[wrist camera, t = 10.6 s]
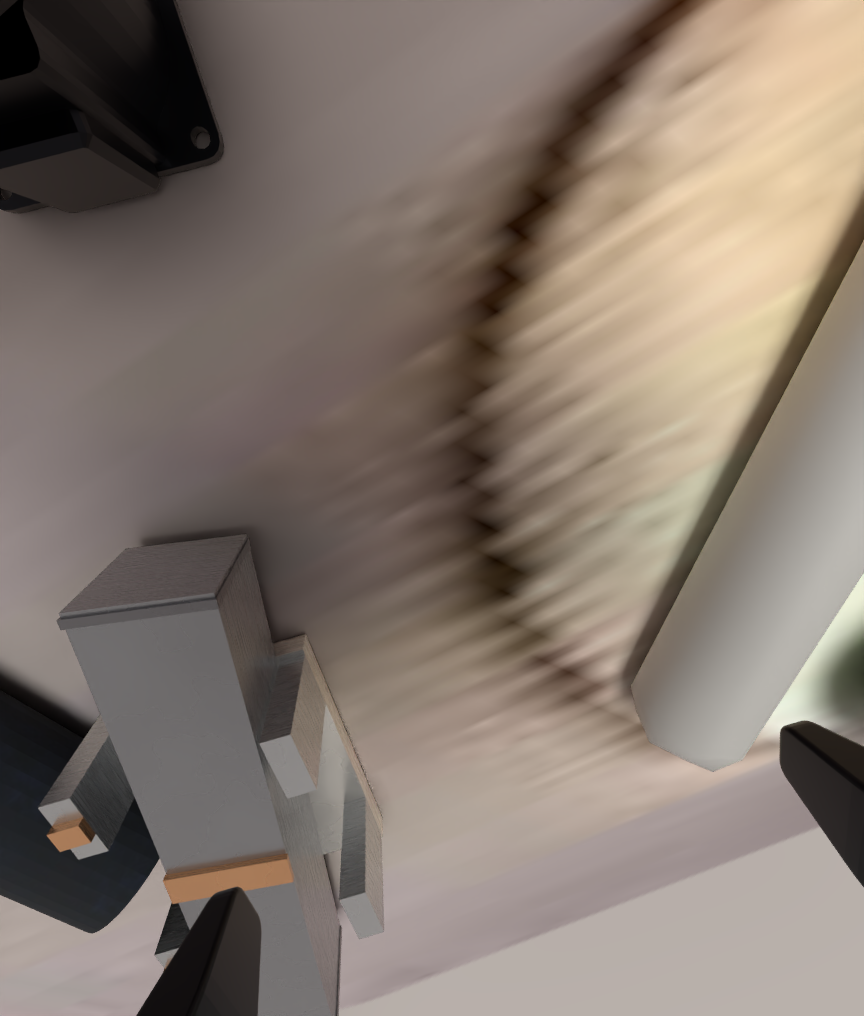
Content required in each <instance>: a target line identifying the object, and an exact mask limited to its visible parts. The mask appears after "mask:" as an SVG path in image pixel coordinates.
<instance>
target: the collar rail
mask: <svg viewBox="0 0 864 1016" xmlns="http://www.w3.org/2000/svg"><path fill="white" fill-rule="evenodd" d="M273 646H274V651H275V655H276V659H277V663H278V671H277V675H276V679H275V683H274V687H273V691H272V695H271V699H270V703H269V706H268V710H267V714H266V718H265V722H264V726H263V730H262V734H261V738H260V742H259V744H260V746H261V748H262V750H263V752H264V754H265V756H266V758H267V760H268V762H269V764H270V766H271V768H272V770H273V772H274V774H275V776H276V778H277V780H278V782H279V784H280V785H281V787H282V789H283V791H284V793H285V795H286V797H287V799H288V798H291V797H295V796H298V795H302V794H305V793H309V797H310V802H311V806H312V810H313V814H314V818H315V823H316V827H317V831H318V835H319V839H320V844H321V848H322V852H323V855H324V854H327V853H331V852H334V851H338V850H341V849H342V852H341V874H340V895H339V901H340V903H341V905H342V907H343V908H344V910H345V912H346V914H347V916H348V918H349V920H350V922H351V924H352V926H353V928H354V930H355V932H356V934H357V936H358V938H359V939H362V938H365V937H369V936H372V935H375V934H379V933H382V932H384V908H383V873H382V839H381V838H382V837H383V826H382V815H381V813H380V811H379V808H378V806H377V803H376V801H375V799H374V796H373V794H372V792H371V789H370V787H369V784H368V782H367V780H366V777H365V775H364V772H363V770H362V768H361V765H360V763H359V760H358V758H357V756H356V753H355V751H354V748H353V746H352V744H351V741H350V739H349V736H348V734H347V732H346V729H345V727H344V724H343V722H342V720H341V717H340V715H339V712H338V710H337V708H336V705H335V703H334V701H333V698H332V696H331V693H330V691H329V689H328V686H327V684H326V681H325V679H324V677H323V674H322V672H321V669H320V667H319V665H318V662H317V660H316V657H315V655H314V653H313V650H312V648H311V645H310V643H309V641H308V638H307V636H306V634H304V635H301V636H297V637H294V638H290V639H287V640H283V641H280V642H276V643H273ZM133 800H134V794H133V792H132V789H131V787H130V784H129V782H128V780H127V777H126V775H125V772H124V770H123V768H122V765H121V763H120V760H119V758H118V755H117V753H116V751H115V748H114V746H113V743H112V741H111V739H110V736H109V734H108V731H107V729H106V726H105V724H104V722H103V719H102V717H101V714H100V716H99V717H98V719H97V720H96V722H95V723H94V725H93V726H92V728H91V729H90V730H89V732H88V733H87V735H86V736H85V738H84V739H83V741H82V742H81V744H80V745H79V747H78V748H77V750H76V751H75V753H74V754H73V756H72V757H71V759H70V760H69V762H68V763H67V765H66V766H65V768H64V769H63V771H62V772H61V774H60V775H59V777H58V778H57V780H56V781H55V783H54V784H53V786H52V787H51V789H50V790H49V792H48V793H47V795H46V796H45V798H44V799H43V800H42V802H41V803H40V805H39V806H38V809H39V810H40V811H41V813H42V814H43V815H44V817H45V818H46V819H47V820H48V822H49V823H50V824H51V825H52V827H51V829H50V830H49V832H48V834H47V837H48V838H49V839H50V840H51V842H52V843H53V844H54V845H55V847H56V848H57V849H58V850H59V852H62V851H65V850H68V849H71V851H72V852H73V853H74V854H75V856H76V857H77V858H78V860H79V859H83V858H86V857H89V856H93V855H96V854H100V853H103V852H107V851H109V849H110V847H111V845H112V843H113V841H114V839H115V837H116V835H117V833H118V831H119V829H120V826H121V824H122V822H123V820H124V818H125V816H126V814H127V812H128V810H129V808H130V806H131V804H132V802H133ZM189 931H190V930H189V927H188V925H187V922H186V920H185V917H184V915H183V913H182V910H181V908H180V905H179V903H175V904H173V903H172V904H171V907H170V910H169V913H168V916H167V919H166V922H165V925H164V928H163V931H162V934H161V937H160V940H159V943H158V946H157V949H156V952H155V955H154V956H155V957H156V958H157V959H158V961H159V962H160V963H161V964H162V966H163V967H164V971H165V969H166V967H167V966H168V964H169V963H170V961H171V959H172V958H173V956H174V955H175V953H176V951H177V950H178V948H179V947H180V945H181V943H182V942H183V940H184V939H185V937H186V935H187V934H188V932H189ZM164 971H163V972H164Z"/></svg>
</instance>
